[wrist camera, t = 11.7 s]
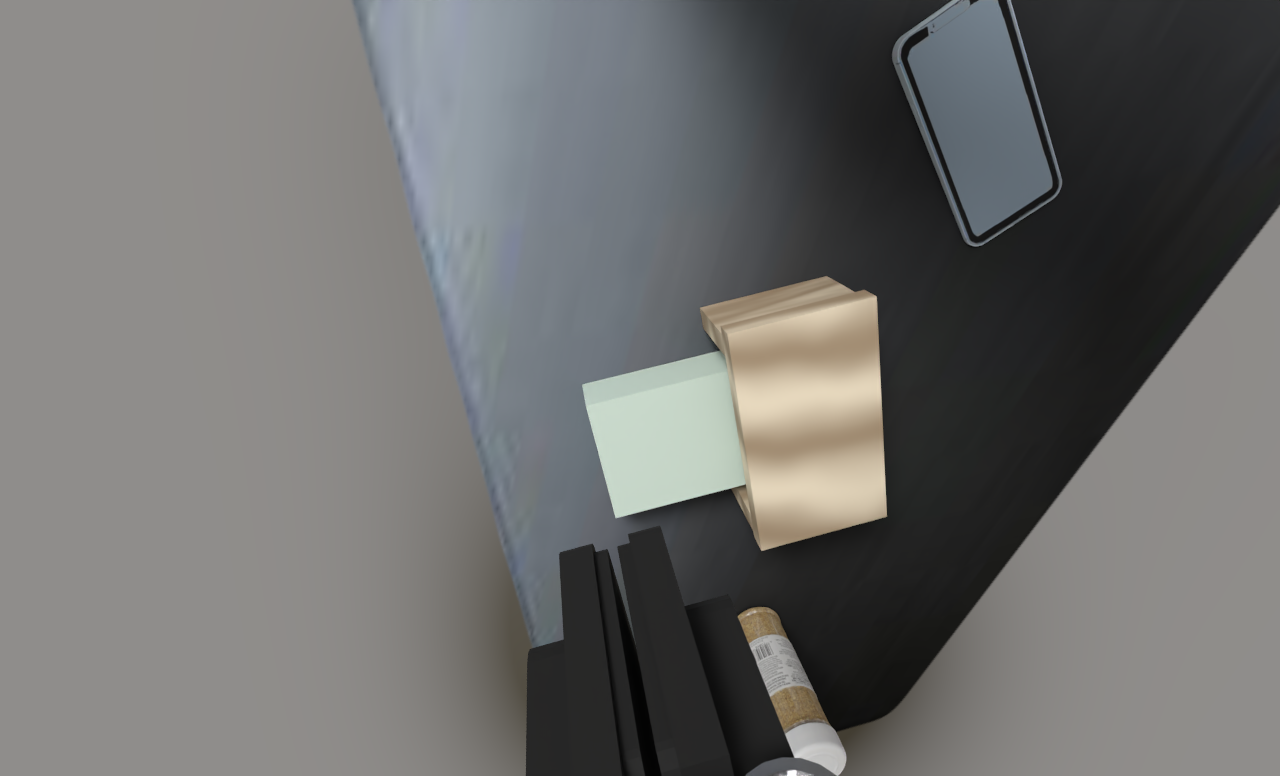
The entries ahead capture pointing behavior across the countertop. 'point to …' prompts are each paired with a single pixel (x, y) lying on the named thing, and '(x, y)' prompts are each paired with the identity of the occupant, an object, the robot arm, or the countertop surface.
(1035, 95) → the smartphone
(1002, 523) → the countertop surface
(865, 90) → the countertop surface
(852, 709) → the countertop surface
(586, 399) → the mint green block
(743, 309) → the birch shelf
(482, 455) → the countertop surface
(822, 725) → the sprinkles bottle
